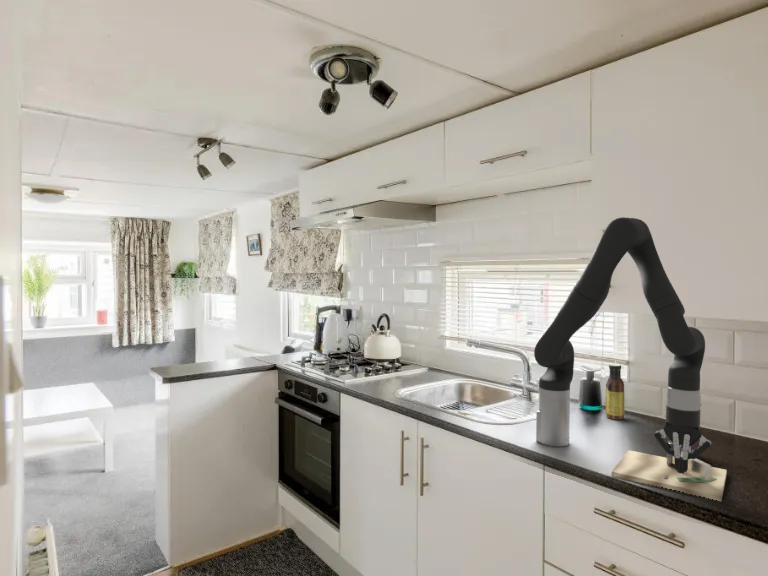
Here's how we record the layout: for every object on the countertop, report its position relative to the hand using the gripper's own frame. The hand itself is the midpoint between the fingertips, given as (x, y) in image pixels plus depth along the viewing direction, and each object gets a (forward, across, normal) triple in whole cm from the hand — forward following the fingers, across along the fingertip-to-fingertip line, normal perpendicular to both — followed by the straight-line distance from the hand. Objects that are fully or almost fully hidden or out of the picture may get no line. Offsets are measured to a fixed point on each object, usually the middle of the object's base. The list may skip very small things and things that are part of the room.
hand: (681, 472), depth 128 cm
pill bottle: (+3, -2, +23) cm, 23 cm away
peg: (+1, +1, +4) cm, 4 cm away
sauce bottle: (+3, -27, +50) cm, 57 cm away
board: (+2, -3, +3) cm, 5 cm away
